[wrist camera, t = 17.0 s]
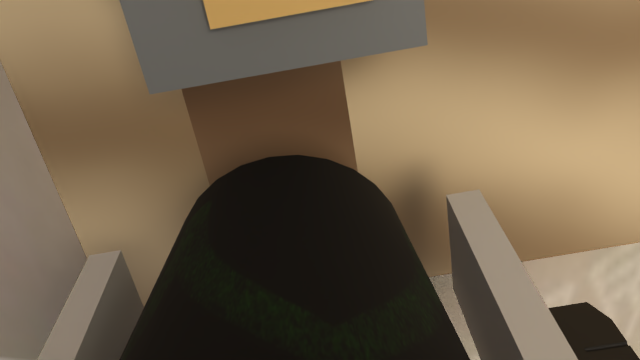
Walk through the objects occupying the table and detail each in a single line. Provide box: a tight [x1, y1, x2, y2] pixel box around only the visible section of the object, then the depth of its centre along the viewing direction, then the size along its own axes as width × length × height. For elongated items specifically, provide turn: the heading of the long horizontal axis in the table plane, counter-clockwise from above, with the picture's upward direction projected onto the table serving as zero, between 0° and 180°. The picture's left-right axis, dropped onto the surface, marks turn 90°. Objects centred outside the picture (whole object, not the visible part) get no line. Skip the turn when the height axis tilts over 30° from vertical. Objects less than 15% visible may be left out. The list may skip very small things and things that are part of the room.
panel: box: [0, 0, 640, 306], centre depth 15 cm, size 14×24×1 cm, turn 100°
